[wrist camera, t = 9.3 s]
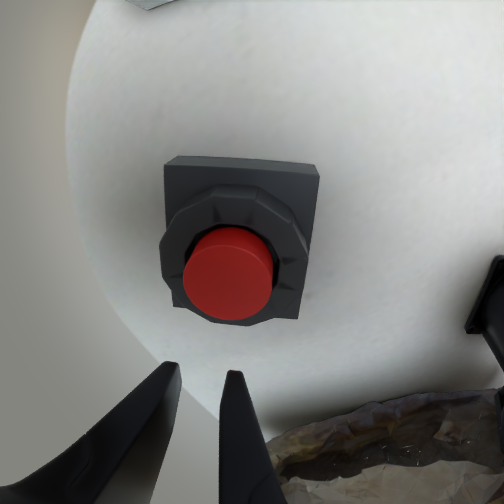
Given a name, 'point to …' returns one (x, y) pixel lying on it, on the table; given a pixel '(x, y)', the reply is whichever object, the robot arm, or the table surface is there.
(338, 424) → the seashell
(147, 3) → the ink box
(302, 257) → the button block
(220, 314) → the button
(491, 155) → the table surface
